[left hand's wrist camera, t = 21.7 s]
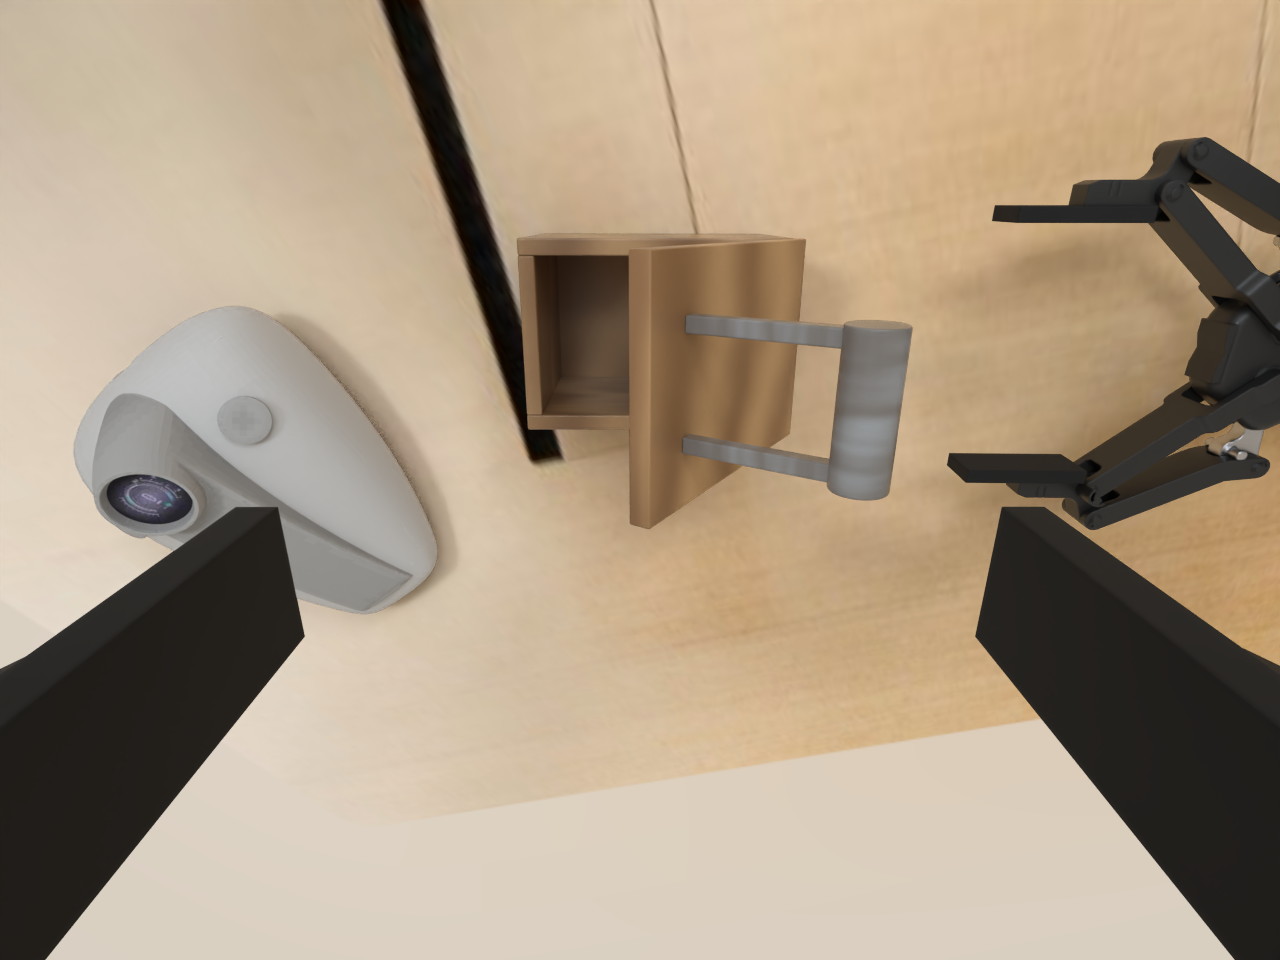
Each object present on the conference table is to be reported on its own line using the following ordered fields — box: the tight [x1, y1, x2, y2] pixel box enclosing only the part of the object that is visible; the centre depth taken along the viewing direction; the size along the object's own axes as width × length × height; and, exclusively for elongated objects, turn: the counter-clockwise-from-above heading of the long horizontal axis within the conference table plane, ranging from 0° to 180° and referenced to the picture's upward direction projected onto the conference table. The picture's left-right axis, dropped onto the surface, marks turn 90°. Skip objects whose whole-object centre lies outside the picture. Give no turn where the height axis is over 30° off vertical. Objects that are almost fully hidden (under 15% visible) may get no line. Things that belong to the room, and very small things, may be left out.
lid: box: [629, 239, 913, 529], centre depth 29 cm, size 15×10×9 cm
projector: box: [74, 306, 438, 614], centre depth 44 cm, size 22×23×15 cm
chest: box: [517, 234, 793, 430], centre depth 42 cm, size 14×10×11 cm
